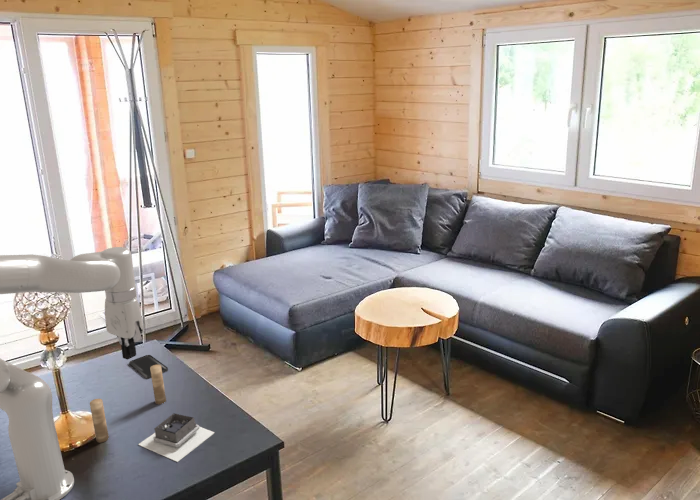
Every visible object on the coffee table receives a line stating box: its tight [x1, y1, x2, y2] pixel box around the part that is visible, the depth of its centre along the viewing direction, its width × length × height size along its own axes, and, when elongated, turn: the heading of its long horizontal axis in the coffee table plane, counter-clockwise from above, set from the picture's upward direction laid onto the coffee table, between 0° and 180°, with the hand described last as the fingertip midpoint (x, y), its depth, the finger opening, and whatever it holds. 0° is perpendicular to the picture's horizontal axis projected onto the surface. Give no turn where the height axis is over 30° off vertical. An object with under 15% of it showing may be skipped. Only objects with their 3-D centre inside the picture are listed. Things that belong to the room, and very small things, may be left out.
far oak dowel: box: [150, 365, 167, 405], centre depth 174 cm, size 3×3×12 cm
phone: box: [128, 354, 169, 379], centre depth 196 cm, size 8×1×15 cm
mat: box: [138, 424, 215, 463], centre depth 158 cm, size 14×15×1 cm
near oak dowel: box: [89, 398, 110, 443], centre depth 157 cm, size 3×3×12 cm
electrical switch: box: [153, 412, 200, 447], centre depth 158 cm, size 9×5×9 cm
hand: (129, 356), depth 155 cm, fingers closed
